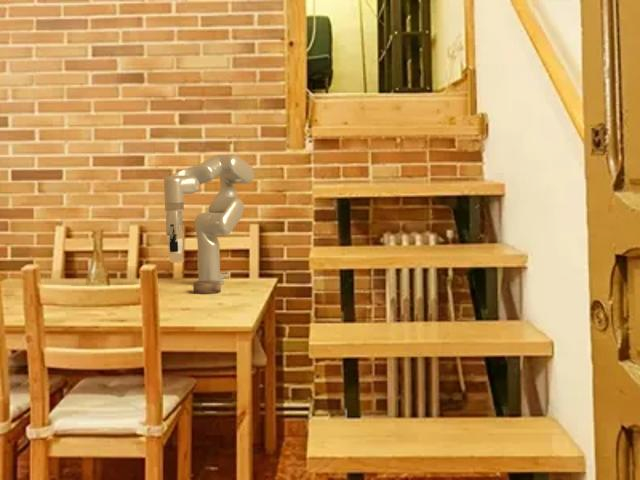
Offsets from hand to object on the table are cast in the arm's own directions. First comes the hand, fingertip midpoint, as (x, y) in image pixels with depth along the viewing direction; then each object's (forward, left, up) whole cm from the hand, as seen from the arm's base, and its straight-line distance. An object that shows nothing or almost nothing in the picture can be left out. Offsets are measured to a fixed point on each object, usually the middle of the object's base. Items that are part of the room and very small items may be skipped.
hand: (176, 250), depth 293 cm
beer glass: (0, 0, -5) cm, 5 cm away
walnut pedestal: (-7, +10, -17) cm, 21 cm away
